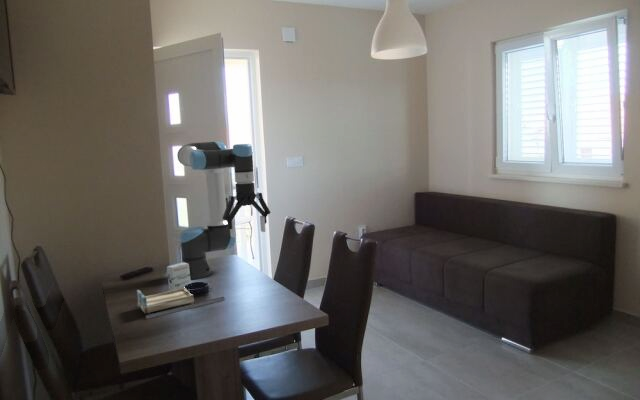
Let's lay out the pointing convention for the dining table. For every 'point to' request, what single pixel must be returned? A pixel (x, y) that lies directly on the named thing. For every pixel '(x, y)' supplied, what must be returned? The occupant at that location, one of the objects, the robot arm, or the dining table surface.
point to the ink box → (178, 276)
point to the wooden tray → (164, 300)
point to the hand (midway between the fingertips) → (248, 234)
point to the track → (184, 307)
